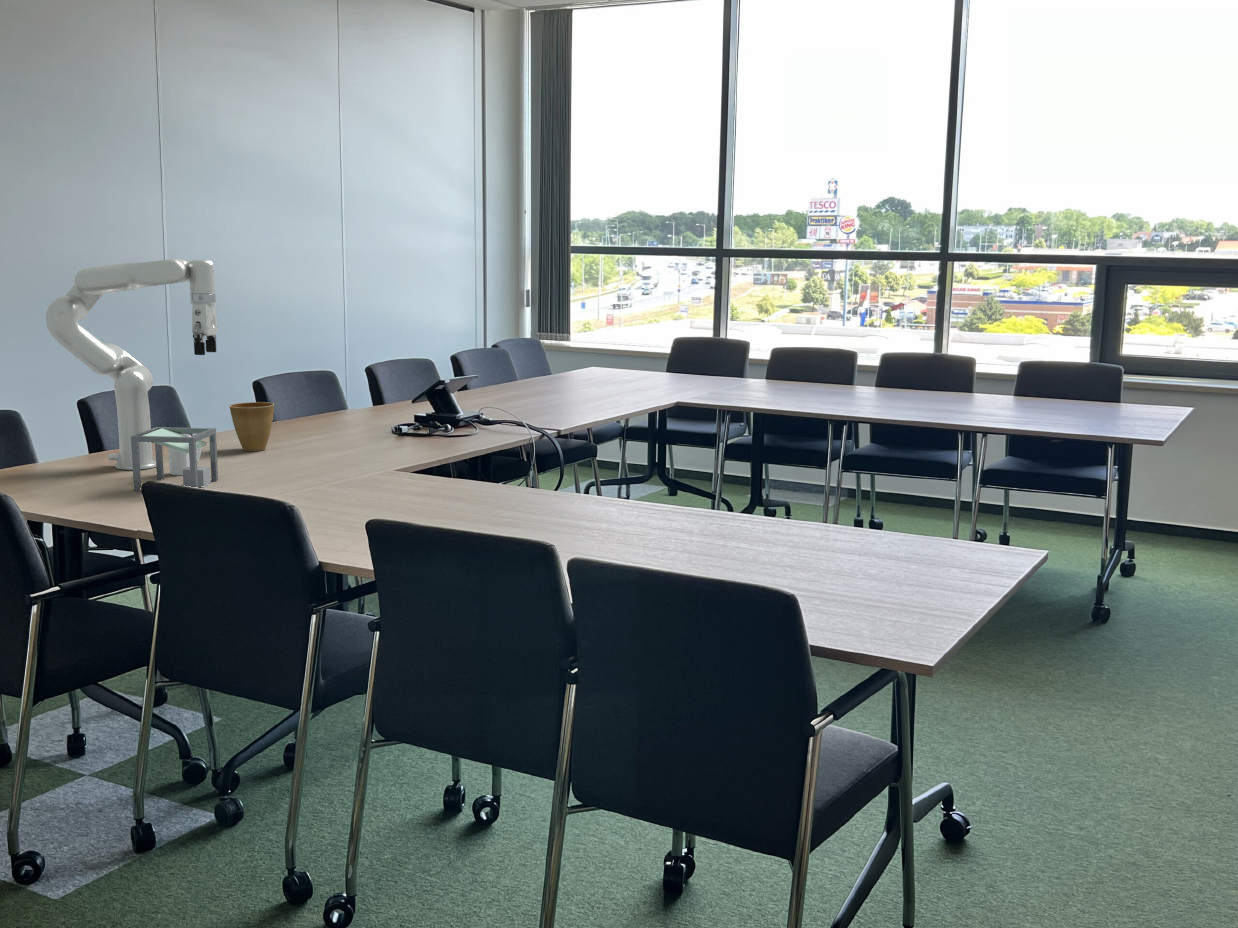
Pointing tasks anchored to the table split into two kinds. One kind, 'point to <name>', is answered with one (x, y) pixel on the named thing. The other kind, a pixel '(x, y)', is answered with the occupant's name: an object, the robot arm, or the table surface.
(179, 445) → the trapdoor
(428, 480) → the table surface
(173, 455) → the mug
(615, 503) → the table surface
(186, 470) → the grey cube
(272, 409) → the plant pot
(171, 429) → the stand
